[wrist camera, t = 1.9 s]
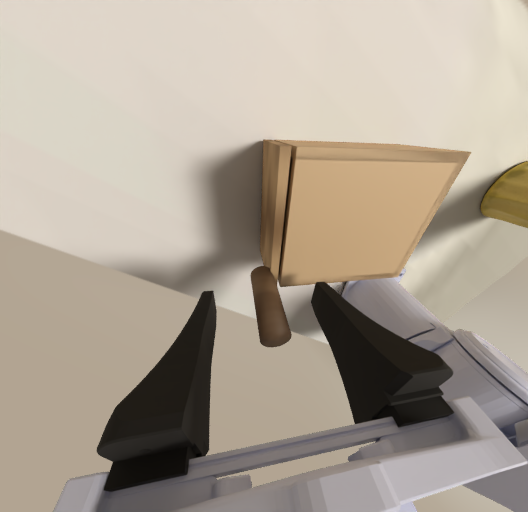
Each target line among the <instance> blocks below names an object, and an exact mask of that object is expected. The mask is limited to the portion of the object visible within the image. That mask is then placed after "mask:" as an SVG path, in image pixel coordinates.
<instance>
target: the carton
mask: <svg viewBox="0 0 528 512" xmlns="http://www.w3.org/2000/svg"><path fill="white" fill-rule="evenodd" d="M274 141H276V142H279V143H282V144H285V145H288V146H292V148H291V157H290V167H289V176H288V186H287V195H286V204H285V214H284V223H283V233H282V242H281V252H280V261H279V271H278V281H279V284H280V287H286V286H298V285H310V284H316V282H326V283H334V282H346V281H358V280H370V279H382V278H394V277H398V276H399V274H400V273H401V271H402V269H403V268H404V266H405V264H406V263H407V261H408V259H409V257H410V256H411V254H412V252H413V251H414V249H415V247H416V246H417V244H418V242H419V240H420V239H421V237H422V235H423V234H424V232H425V230H426V229H427V227H428V225H429V223H430V222H431V220H432V218H433V217H434V215H435V213H436V212H437V210H438V208H439V206H440V205H441V203H442V201H443V200H444V198H445V196H446V195H447V193H448V191H449V189H450V188H451V186H452V184H453V183H454V181H455V179H456V178H457V176H458V174H459V172H460V171H461V169H462V167H463V166H464V164H465V162H466V161H467V159H468V157H469V155H470V154H471V152H465V151H456V150H447V149H437V148H428V147H419V146H409V145H400V144H376V143H349V142H321V141H294V140H274Z"/></svg>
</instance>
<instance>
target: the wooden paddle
mask: <svg viewBox="0 0 528 512" xmlns="http://www.w3.org/2000/svg"><path fill="white" fill-rule="evenodd" d="M291 148H292V146H288V145H285V144H282V143H279V142H276V141H273V140H263V171H262V203H261V236H260V252H261V256H262V260H263V264H264V266H260V267H257V268H255V269H254V270H253V271H252V272H251V282H252V289H253V296H254V303H255V309H256V316H257V323H258V330H259V336H260V342H261V344H262V345H264V346H266V347H277V346H281V345H283V344H285V343H286V342H288V341H289V340H290V338H291V331H290V328H289V325H288V321H287V318H286V315H285V312H284V308H283V305H282V302H281V298H280V295H279V292H278V288H277V280H278V271H279V261H280V252H281V242H282V233H283V223H284V214H285V204H286V195H287V186H288V176H289V167H290V157H291Z"/></svg>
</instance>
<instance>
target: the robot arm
mask: <svg viewBox="0 0 528 512" xmlns="http://www.w3.org/2000/svg"><path fill="white" fill-rule="evenodd" d="M405 272H406V269H404V268H403V269H402V271H401V273H400V274H399V276H398V277H394V278H382V279H370V280H358V281H347V283H346V285H345V288H344V290H343V293H342V296H341V295H339V294H338V293H337V292H336V291H335V290H334V289H332V288H331V287H330V286H329V285H328V284H327V283H326V282H316V285H315V289H314V292H313V296H312V300H311V303H312V306H313V309H314V312H315V315H316V317H317V319H318V322H319V324H320V326H321V328H322V330H323V332H324V334H325V336H326V338H327V340H328V342H329V345H330V347H331V349H332V352H333V355H334V357H335V360H336V363H337V366H338V369H339V372H340V375H341V377H342V380H343V384H344V387H345V390H346V393H347V397H348V400H349V404H350V407H351V411H352V414H353V419H354V422H355V424H354V425H350V426H345V427H340V428H335V429H330V430H326V431H321V432H316V433H312V434H307V435H302V436H298V437H293V438H288V439H283V440H279V441H274V442H269V443H265V444H260V445H255V446H250V447H246V448H241V449H236V450H231V451H227V452H222V453H217V454H213V455H208V456H205V455H206V454H207V452H208V450H209V414H210V379H211V363H212V354H213V346H214V338H215V330H216V305H215V299H214V293H213V291H204V292H203V293H202V294H201V297H200V299H199V301H198V304H197V306H196V307H195V309H194V311H193V313H192V315H191V317H190V318H189V320H188V322H187V324H186V325H185V327H184V328H183V330H182V331H181V333H180V334H179V336H178V337H177V339H176V340H175V342H174V343H173V345H172V346H171V347H170V348H169V350H168V351H167V352H166V353H165V355H164V356H163V357H162V358H161V360H160V361H159V362H158V363H157V365H156V366H155V367H154V368H153V369H152V370H151V371H150V372H149V374H148V375H147V376H146V377H145V378H144V379H143V380H142V381H141V382H140V383H139V384H138V385H137V387H136V388H134V389H133V390H132V392H131V393H129V394H128V396H126V398H124V399H123V400H122V401H121V402H120V403H119V404H118V405H117V406H116V408H115V409H114V412H113V413H112V415H111V417H110V419H109V421H108V423H107V425H106V428H105V430H104V432H103V435H102V437H101V440H100V443H99V445H98V447H97V453H98V454H99V455H100V456H102V457H104V458H107V459H108V460H111V461H113V464H112V467H111V470H110V472H101V473H96V474H91V475H86V476H81V477H76V478H71V479H70V480H68V481H67V482H66V484H65V486H64V489H63V491H62V493H61V495H60V497H59V500H58V502H57V504H56V506H55V508H54V511H53V512H417V510H416V508H415V506H414V504H413V502H412V501H415V500H418V499H421V498H424V497H427V496H429V495H433V494H436V493H439V492H442V491H444V490H448V489H451V488H453V487H457V486H460V485H463V486H465V487H467V488H469V489H471V490H473V491H475V492H477V493H479V494H481V495H483V496H485V497H487V498H489V499H491V500H493V501H495V502H497V503H499V504H501V505H503V506H505V507H507V508H509V509H511V510H512V511H514V512H528V374H527V372H525V371H524V370H523V369H522V368H520V367H519V366H518V365H517V364H516V363H515V362H513V361H512V360H511V359H510V358H508V357H507V356H506V355H505V354H503V353H502V352H501V351H500V350H498V349H497V348H496V347H494V346H493V345H492V344H490V343H489V342H488V341H486V340H485V339H483V338H482V337H480V336H479V335H477V334H476V333H474V332H471V331H464V330H461V329H458V330H456V331H455V332H454V331H451V330H449V329H448V328H447V327H446V326H445V325H444V324H443V323H442V322H441V321H440V320H439V319H437V318H436V317H435V316H434V315H433V314H432V313H431V312H430V311H429V310H428V309H427V308H426V307H424V306H423V305H422V304H421V303H420V302H419V301H418V300H417V299H416V298H415V297H414V296H412V295H411V294H410V293H409V292H408V291H407V290H406V289H405V288H404V287H403V286H402V285H401V284H399V282H400V280H401V278H402V277H403V275H404V273H405ZM373 441H376V442H375V443H373V444H370V445H367V446H364V447H361V448H360V449H359V451H357V452H356V453H354V454H352V455H351V456H349V457H348V460H349V462H347V463H343V464H338V465H334V466H329V467H326V468H321V469H318V470H313V471H310V472H306V473H302V474H299V475H295V476H291V477H288V478H284V479H281V480H277V481H274V482H270V483H267V484H263V485H260V486H256V487H253V488H252V482H251V480H250V476H249V475H240V476H232V477H226V478H222V479H219V480H217V479H216V478H218V477H222V476H226V475H230V474H235V473H239V472H244V471H248V470H252V469H257V468H261V467H265V466H270V465H274V464H278V463H283V462H287V461H291V460H295V459H300V458H304V457H308V456H313V455H317V454H321V453H326V452H330V451H335V450H338V449H343V448H348V447H352V446H356V445H361V444H365V443H369V442H373Z"/></svg>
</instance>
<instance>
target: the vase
mask: <svg viewBox="0 0 528 512" xmlns="http://www.w3.org/2000/svg"><path fill="white" fill-rule="evenodd" d="M481 212H482V214H483V215H485V216H487V217H490V218H495V219H499V220H503V221H506V222H509V223H513V224H516V225H519V226H522V227H526V228H528V162H524V163H522V164H519V165H517V166H515V167H513V168H512V169H510V170H509V171H507V172H506V173H505V174H503V175H502V176H501V177H500V178H499V179H498V180H497V181H496V182H495V183H494V184H493V185H492V186H491V187H490V189H489V190H488V191H487V193H486V194H485V196H484V198H483V200H482V203H481Z"/></svg>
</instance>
